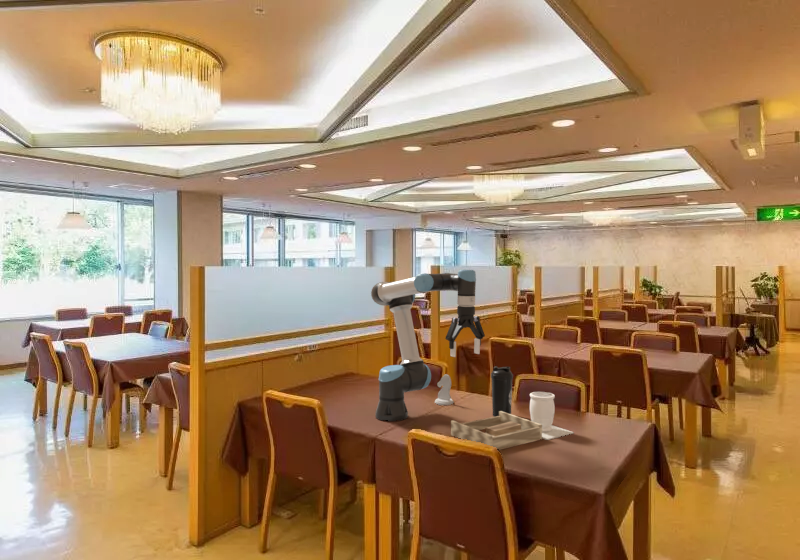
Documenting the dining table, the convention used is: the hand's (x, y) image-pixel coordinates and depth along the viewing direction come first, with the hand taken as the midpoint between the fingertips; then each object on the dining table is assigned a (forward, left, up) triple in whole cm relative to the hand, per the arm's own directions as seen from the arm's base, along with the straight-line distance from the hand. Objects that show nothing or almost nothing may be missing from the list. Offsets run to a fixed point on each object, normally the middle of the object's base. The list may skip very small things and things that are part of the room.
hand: (465, 355), depth 225 cm
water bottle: (-8, +29, -33) cm, 44 cm away
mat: (+18, +28, -32) cm, 46 cm away
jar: (+18, +27, -32) cm, 46 cm away
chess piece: (-41, +20, -33) cm, 56 cm away
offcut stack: (+19, +4, -33) cm, 38 cm away
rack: (+14, +5, -32) cm, 36 cm away
